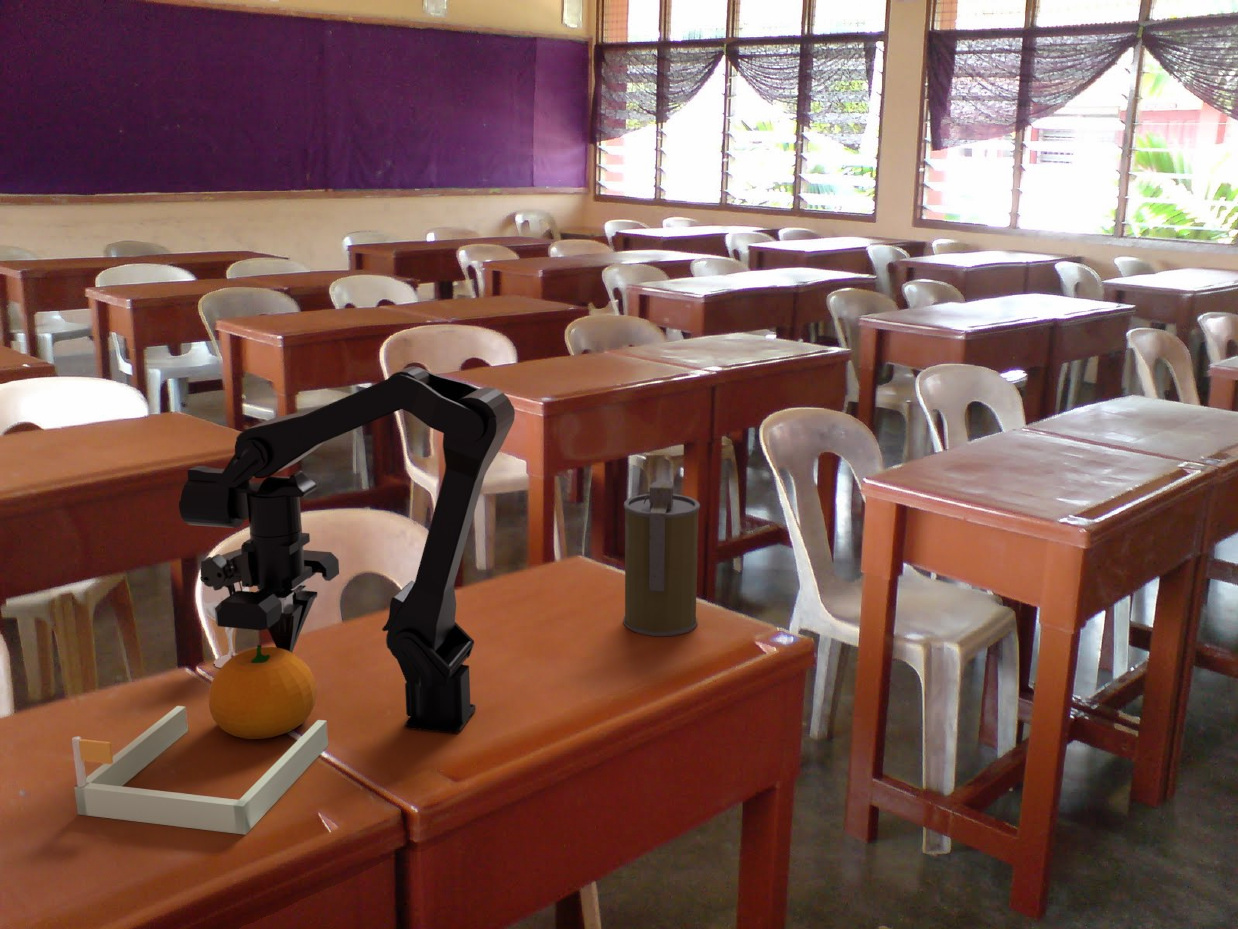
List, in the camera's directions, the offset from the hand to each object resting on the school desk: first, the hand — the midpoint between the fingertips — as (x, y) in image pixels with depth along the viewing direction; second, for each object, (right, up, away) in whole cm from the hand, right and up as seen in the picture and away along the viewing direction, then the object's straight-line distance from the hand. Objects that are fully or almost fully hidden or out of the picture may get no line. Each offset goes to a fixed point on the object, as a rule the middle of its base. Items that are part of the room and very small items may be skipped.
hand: (285, 656), depth 136 cm
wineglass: (-11, -3, +13) cm, 17 cm away
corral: (-3, -10, -15) cm, 19 cm away
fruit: (-1, -7, -4) cm, 8 cm away
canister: (+45, 0, +26) cm, 52 cm away
